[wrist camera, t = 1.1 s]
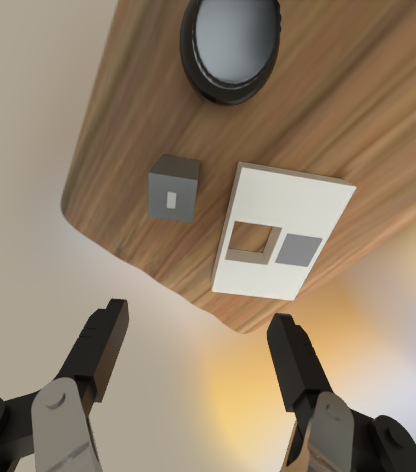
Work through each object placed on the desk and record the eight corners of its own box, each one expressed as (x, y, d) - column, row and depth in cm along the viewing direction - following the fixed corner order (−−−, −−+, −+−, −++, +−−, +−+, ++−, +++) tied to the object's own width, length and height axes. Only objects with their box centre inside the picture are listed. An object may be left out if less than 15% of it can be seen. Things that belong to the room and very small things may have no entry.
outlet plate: (238, 161, 26) (242, 167, 23) (342, 179, 27) (357, 187, 25) (211, 278, 36) (211, 292, 34) (287, 287, 38) (293, 301, 35)
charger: (163, 154, 26) (147, 173, 19) (200, 160, 26) (197, 181, 19) (161, 189, 28) (147, 218, 21) (195, 194, 28) (191, 224, 21)
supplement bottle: (178, 88, 22) (154, 74, 12) (202, 2, 19) (197, -120, 9) (236, 116, 24) (260, 125, 13) (268, 41, 20) (331, -24, 10)
